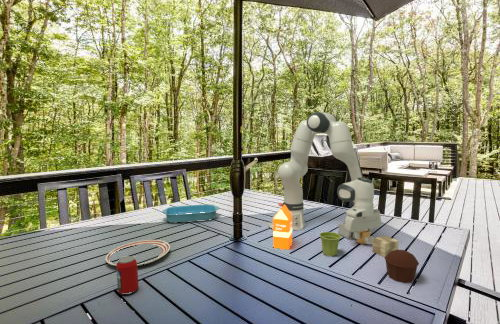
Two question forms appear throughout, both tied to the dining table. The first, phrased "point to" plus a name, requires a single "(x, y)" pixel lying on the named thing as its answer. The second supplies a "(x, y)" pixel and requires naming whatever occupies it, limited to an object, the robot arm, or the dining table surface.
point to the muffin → (401, 266)
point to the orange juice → (282, 229)
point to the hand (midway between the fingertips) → (363, 237)
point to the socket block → (384, 245)
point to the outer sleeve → (344, 232)
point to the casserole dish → (194, 209)
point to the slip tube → (363, 237)
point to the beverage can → (127, 274)
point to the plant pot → (330, 243)
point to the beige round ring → (161, 244)
